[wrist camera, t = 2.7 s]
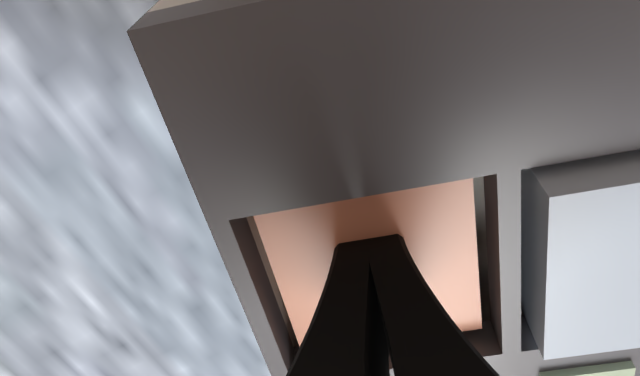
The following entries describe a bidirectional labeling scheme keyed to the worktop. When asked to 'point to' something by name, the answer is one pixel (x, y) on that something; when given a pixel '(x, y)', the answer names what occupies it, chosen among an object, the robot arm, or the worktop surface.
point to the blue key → (582, 255)
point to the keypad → (391, 126)
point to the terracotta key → (375, 221)
